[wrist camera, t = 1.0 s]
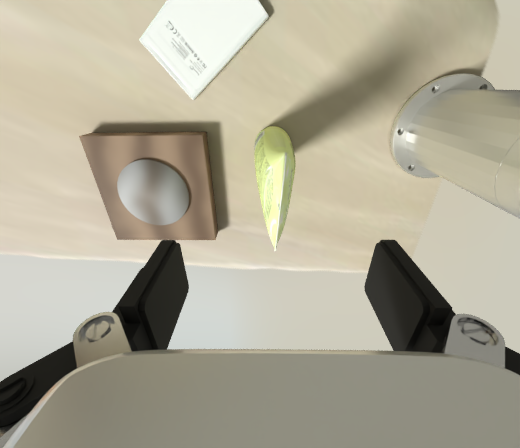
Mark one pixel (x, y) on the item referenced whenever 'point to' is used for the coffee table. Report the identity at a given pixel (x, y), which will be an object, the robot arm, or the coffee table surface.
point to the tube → (274, 177)
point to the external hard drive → (201, 37)
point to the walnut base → (154, 184)
